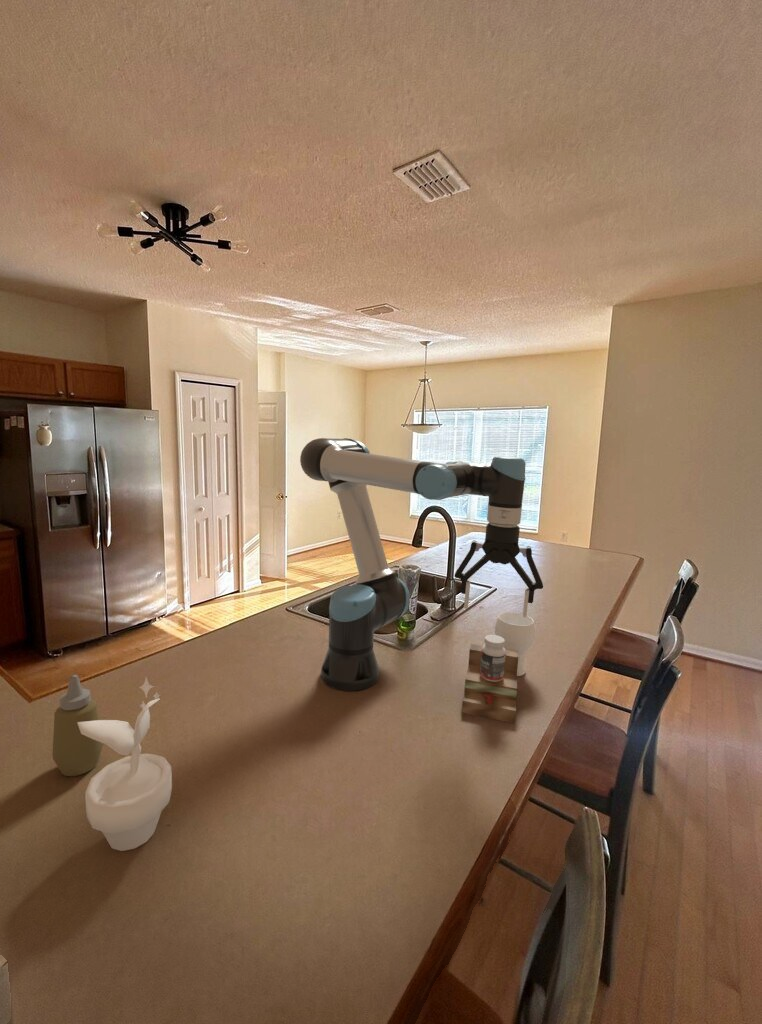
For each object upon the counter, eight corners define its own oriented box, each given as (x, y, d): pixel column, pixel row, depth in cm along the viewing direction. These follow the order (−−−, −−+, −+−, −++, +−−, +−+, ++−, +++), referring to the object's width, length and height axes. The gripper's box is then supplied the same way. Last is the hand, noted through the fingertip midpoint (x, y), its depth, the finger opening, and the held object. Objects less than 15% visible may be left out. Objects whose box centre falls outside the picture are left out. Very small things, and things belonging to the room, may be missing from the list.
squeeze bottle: (95, 745, 91) (90, 661, 89) (112, 765, 86) (107, 676, 84) (47, 766, 85) (39, 676, 82) (62, 789, 80) (54, 694, 77)
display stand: (461, 712, 108) (464, 672, 106) (468, 678, 123) (470, 643, 121) (514, 723, 105) (518, 682, 103) (514, 687, 120) (518, 651, 118)
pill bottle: (475, 671, 115) (478, 634, 113) (495, 669, 116) (499, 632, 115) (486, 684, 109) (489, 644, 108) (507, 681, 111) (511, 642, 109)
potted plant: (185, 805, 78) (180, 667, 74) (153, 869, 67) (146, 710, 62) (108, 804, 78) (100, 665, 73) (64, 868, 66) (50, 708, 62)
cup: (533, 681, 123) (538, 628, 120) (492, 676, 125) (496, 623, 123) (528, 663, 133) (533, 613, 131) (491, 658, 135) (495, 609, 133)
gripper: (447, 521, 107) (440, 608, 110) (562, 532, 100) (551, 625, 104) (451, 516, 114) (445, 598, 117) (558, 526, 107) (548, 613, 111)
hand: (494, 611), depth 110 cm, fingers open, 13 cm apart
